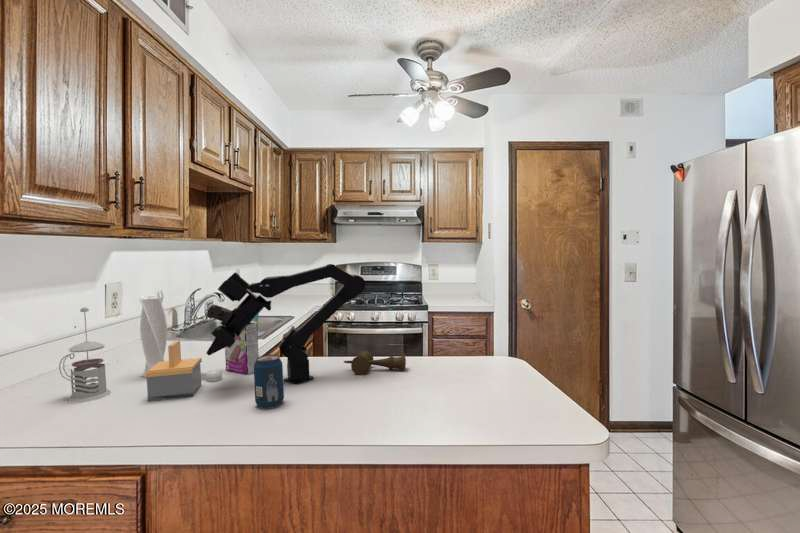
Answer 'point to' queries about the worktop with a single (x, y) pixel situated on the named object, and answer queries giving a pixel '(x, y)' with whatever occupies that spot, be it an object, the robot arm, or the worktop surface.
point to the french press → (87, 372)
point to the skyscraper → (153, 330)
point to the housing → (174, 385)
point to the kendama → (375, 363)
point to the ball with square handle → (212, 375)
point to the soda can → (268, 381)
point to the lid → (173, 363)
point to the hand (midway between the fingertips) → (207, 354)
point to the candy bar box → (243, 351)
